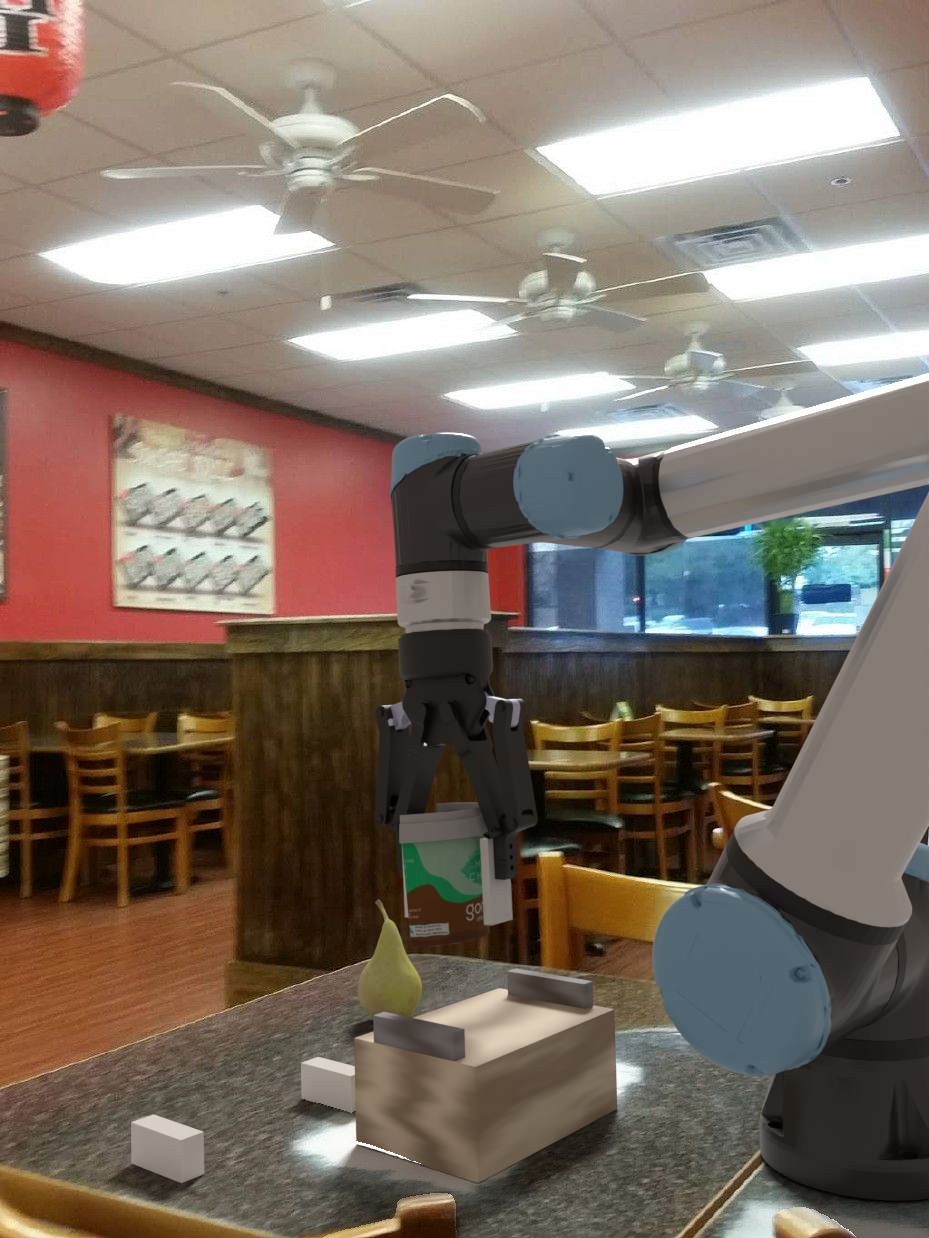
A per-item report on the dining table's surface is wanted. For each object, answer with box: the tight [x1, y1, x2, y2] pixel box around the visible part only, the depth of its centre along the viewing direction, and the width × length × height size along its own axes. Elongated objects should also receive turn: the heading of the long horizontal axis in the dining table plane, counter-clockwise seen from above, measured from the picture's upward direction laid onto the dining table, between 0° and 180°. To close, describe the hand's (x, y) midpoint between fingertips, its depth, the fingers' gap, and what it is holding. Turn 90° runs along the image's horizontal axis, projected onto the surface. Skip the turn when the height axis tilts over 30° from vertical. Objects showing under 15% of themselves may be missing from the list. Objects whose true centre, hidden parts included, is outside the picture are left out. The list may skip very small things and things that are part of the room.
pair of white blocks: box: [130, 1056, 356, 1184], centre depth 95 cm, size 6×19×3 cm, turn 140°
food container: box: [399, 802, 490, 948], centre depth 96 cm, size 12×6×10 cm, turn 167°
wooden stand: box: [353, 968, 618, 1184], centre depth 96 cm, size 12×18×10 cm, turn 140°
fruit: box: [357, 899, 423, 1018], centre depth 126 cm, size 7×8×12 cm
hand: (457, 917), depth 96 cm, fingers closed on food container, 7 cm apart
